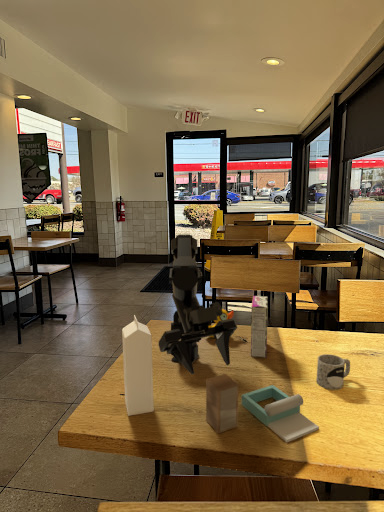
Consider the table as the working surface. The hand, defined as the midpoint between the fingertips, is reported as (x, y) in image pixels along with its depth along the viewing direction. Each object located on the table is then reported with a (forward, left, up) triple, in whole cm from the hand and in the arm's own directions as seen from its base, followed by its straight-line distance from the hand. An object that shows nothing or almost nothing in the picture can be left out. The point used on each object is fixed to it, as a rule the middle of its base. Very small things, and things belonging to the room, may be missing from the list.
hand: (211, 369), depth 83 cm
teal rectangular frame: (+14, +6, -11) cm, 19 cm away
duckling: (-16, +42, -11) cm, 46 cm away
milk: (-16, -5, -11) cm, 21 cm away
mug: (+24, +28, -11) cm, 38 cm away
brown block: (+4, -2, -11) cm, 12 cm away
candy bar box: (0, +38, -11) cm, 39 cm away
